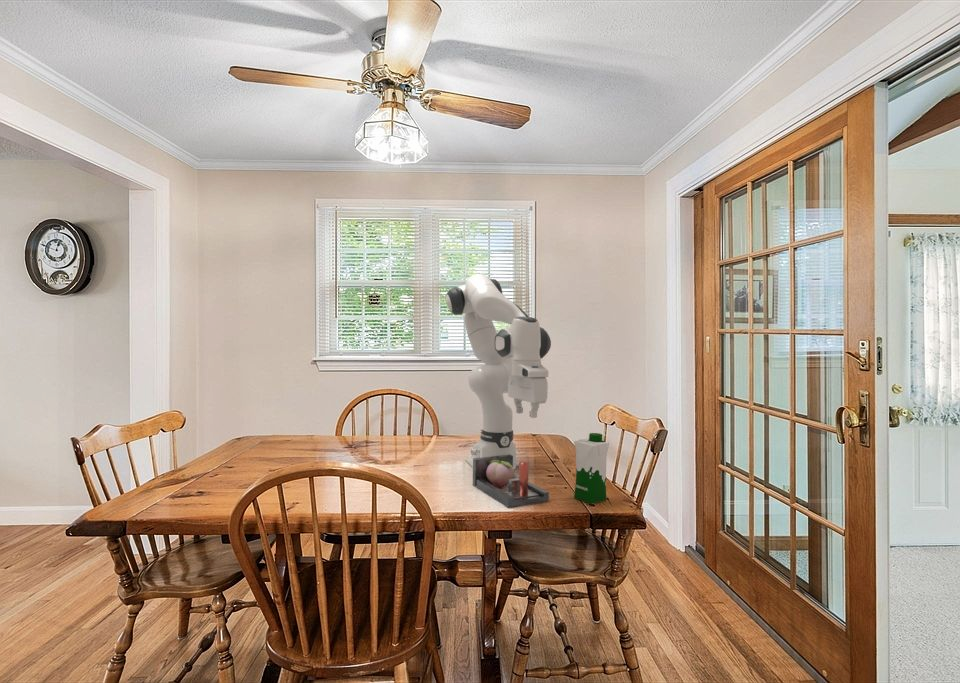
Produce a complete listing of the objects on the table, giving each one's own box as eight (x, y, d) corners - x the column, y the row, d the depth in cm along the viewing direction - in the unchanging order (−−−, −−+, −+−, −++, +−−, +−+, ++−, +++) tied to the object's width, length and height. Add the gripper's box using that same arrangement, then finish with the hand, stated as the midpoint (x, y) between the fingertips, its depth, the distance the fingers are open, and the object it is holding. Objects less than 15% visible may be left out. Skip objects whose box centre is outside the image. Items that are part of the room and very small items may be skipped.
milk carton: (610, 500, 160) (612, 435, 159) (591, 506, 154) (592, 439, 154) (588, 493, 167) (590, 431, 166) (569, 498, 161) (570, 434, 161)
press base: (472, 485, 173) (473, 458, 173) (509, 480, 179) (510, 454, 179) (508, 507, 152) (508, 477, 151) (548, 501, 158) (549, 472, 158)
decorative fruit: (519, 487, 171) (519, 457, 171) (507, 494, 164) (507, 462, 164) (494, 482, 176) (495, 453, 176) (481, 488, 169) (482, 458, 169)
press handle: (501, 498, 160) (502, 460, 159) (528, 494, 164) (529, 457, 164) (511, 504, 154) (512, 465, 154) (539, 500, 158) (540, 462, 158)
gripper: (503, 368, 166) (502, 411, 166) (531, 372, 147) (531, 420, 147) (520, 367, 168) (520, 410, 169) (551, 371, 149) (551, 419, 149)
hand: (526, 415), depth 158 cm, fingers open, 8 cm apart
